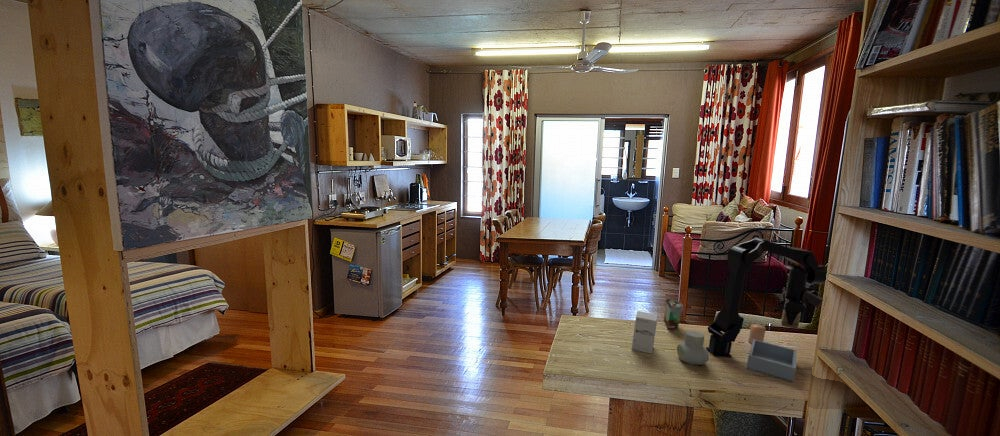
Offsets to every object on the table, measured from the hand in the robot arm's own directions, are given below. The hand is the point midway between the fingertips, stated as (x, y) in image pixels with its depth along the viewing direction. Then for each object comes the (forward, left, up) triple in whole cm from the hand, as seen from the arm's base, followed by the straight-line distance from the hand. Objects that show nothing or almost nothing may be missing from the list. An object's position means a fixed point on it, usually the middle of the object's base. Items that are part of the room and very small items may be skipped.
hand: (789, 322), depth 168 cm
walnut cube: (0, 0, -1) cm, 1 cm away
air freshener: (-42, -10, -12) cm, 44 cm away
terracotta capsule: (-7, +7, -12) cm, 15 cm away
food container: (-34, +21, -12) cm, 42 cm away
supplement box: (-56, -1, -12) cm, 57 cm away
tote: (-14, -12, -12) cm, 21 cm away
